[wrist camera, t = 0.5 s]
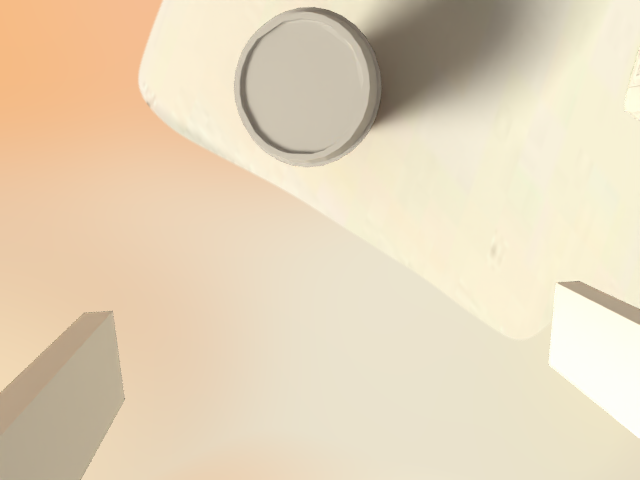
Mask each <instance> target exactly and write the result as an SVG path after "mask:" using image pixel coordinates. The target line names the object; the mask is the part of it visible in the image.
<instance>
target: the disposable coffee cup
mask: <svg viewBox="0 0 640 480" xmlns="http://www.w3.org/2000/svg"><path fill="white" fill-rule="evenodd" d="M381 90H382V86H381V74H380V68H379V65H378V62H377V59H376V56H375V52H374V50H373V49H372V47H371V45H370V43H369V42H368V40H367V38H366V37H365V36H364V35H363V33H362V32H361V31H360V30H359V29H358V28H357V26H356V25H354V24H353V23H351V22H350V21H349V20H347V19H346V18H344V17H343V16H342V15H339V14H337V13H334V12H332V11H330V10H326V9H321V8H315V7H310V8H297V9H293V10H289V11H286V12H283V13H281V14H279V15H277V16H275V17H274V18H272V19H271V20H269V21H268V22H266V23H265V24H264V25H263V26H262V27H261V28H259V29H258V30H257V31H256V32H255V34H254V35H253V36H252V37H251V38H250V40H249V41H248V43H247V44H246V46H245V47H244V49H243V51H242V53H241V56H240V58H239V61H238V65H237V68H236V72H235V81H234V92H235V101H236V105H237V109H238V113H239V116H240V118H241V120H242V122H243V125H244V126H245V128H246V130H247V132H248V133H249V135H250V136H251V137H252V139H253V140H254V141H255V143H256V144H257V145H258V146H259V147H260V148H262V149H263V150H264V151H265V152H266V153H267V154H269V155H271V156H272V157H274V158H276V159H277V160H279V161H281V162H284V163H287V164H290V165H293V166H301V167H313V166H322V165H325V164H328V163H331V162H334V161H337V160H339V159H340V158H342V157H343V156H345V155H346V154H348V153H350V152H351V151H352V150H353V149H354V148H355V147H356V146H357V145H358V144H359V143H360V142H361V141H362V140H363V139H364V138H365V136H366V135H367V134H368V132H369V130H370V128H371V126H372V124H373V122H374V120H375V118H376V115H377V111H378V108H379V104H380V98H381Z"/></svg>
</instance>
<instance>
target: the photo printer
mask: <svg viewBox="0 0 640 480" xmlns="http://www.w3.org/2000/svg"><path fill="white" fill-rule="evenodd" d="M624 111H625V112H629V113H630V115H632V116H633V117H634V118H635V119H637V120H639V121H640V48H639V51H638V54H637V58H636V61H635V64H634V67H633V71H632V73H631V77H630V81H629V85H628V88H627V92H626V97H625V103H624Z"/></svg>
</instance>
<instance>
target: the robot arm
mask: <svg viewBox="0 0 640 480" xmlns="http://www.w3.org/2000/svg"><path fill="white" fill-rule="evenodd" d="M549 365H550V366H551V367H552V368H554V369H555V370H556V371H557V372H558V373H559V374H561V375H562V376H563V377H565V378H566V379H567V380H568V381H569V382H571V383H572V384H573V385H574V386H576V387H577V388H578V389H579V390H580V391H582V392H583V393H584V394H585V395H587V396H588V397H589V398H590V399H591V400H593V401H594V402H595V403H596V404H598V405H599V406H600V407H601V408H603V409H604V410H605V411H606V412H608V413H609V414H610V415H611V416H612V417H614V418H615V419H616V420H617V421H619V422H620V423H621V424H622V425H624V426H625V427H626V428H627V429H628V430H630V431H631V432H632V433H633V434H634V435H636V436H637V437H638V438H639V439H640V309H638V308H636V307H634V306H632V305H630V304H627V303H625V302H623V301H621V300H619V299H617V298H615V297H612V296H610V295H608V294H606V293H604V292H602V291H599V290H597V289H595V288H593V287H591V286H589V285H587V284H584V283H582V282H580V281H574V282H558V283H556V288H555V299H554V310H553V321H552V333H551V344H550V355H549ZM124 400H125V398H124V390H123V383H122V375H121V368H120V361H119V353H118V346H117V338H116V331H115V325H114V316H113V311H103V312H89V313H84V314H82V315H81V316H80V317H79V318H78V319H77V320H76V321H75V322H74V323H73V324H72V325H71V326H70V327H69V328H68V329H67V330H66V331H65V332H63V333H62V334H61V335H60V336H59V337H58V338H57V339H56V340H55V341H54V342H53V343H52V344H51V345H50V346H49V347H48V348H47V349H46V350H45V351H43V352H42V353H41V354H40V356H38V357H37V358H36V359H35V360H34V361H33V362H32V363H31V364H30V365H29V366H28V367H27V368H26V369H25V370H24V371H23V372H21V374H20V375H18V376H17V377H16V378H15V379H14V380H13V381H12V382H11V383H10V384H9V385H8V386H7V387H6V388H5V389H4V390H3V391H2V392H0V480H81V478H82V476H83V475H84V473H85V471H86V469H87V467H88V466H89V464H90V462H91V460H92V458H93V457H94V455H95V453H96V451H97V449H98V448H99V446H100V444H101V442H102V440H103V438H104V436H105V435H106V433H107V431H108V429H109V427H110V426H111V424H112V422H113V420H114V418H115V417H116V415H117V413H118V411H119V409H120V407H121V406H122V404H123V402H124Z"/></svg>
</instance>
